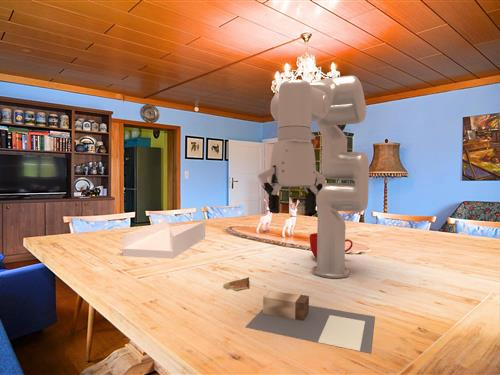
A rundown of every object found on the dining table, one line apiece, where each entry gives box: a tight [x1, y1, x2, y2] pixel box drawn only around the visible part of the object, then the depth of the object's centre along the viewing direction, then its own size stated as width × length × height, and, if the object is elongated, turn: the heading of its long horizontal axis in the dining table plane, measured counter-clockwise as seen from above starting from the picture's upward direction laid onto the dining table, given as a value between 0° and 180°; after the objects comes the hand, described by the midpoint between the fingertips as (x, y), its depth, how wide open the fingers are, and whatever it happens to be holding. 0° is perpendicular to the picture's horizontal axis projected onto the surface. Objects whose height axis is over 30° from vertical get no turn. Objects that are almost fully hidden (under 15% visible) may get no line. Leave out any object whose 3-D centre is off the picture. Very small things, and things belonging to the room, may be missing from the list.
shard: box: [222, 277, 251, 292], centre depth 100 cm, size 11×8×2 cm
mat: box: [245, 304, 376, 355], centre depth 75 cm, size 18×26×1 cm
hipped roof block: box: [122, 220, 206, 260], centre depth 156 cm, size 45×22×10 cm, turn 171°
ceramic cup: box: [309, 232, 354, 260], centre depth 132 cm, size 13×17×10 cm
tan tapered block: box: [262, 289, 310, 321], centre depth 79 cm, size 10×5×4 cm, turn 67°
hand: (292, 212), depth 74 cm, fingers open, 9 cm apart
